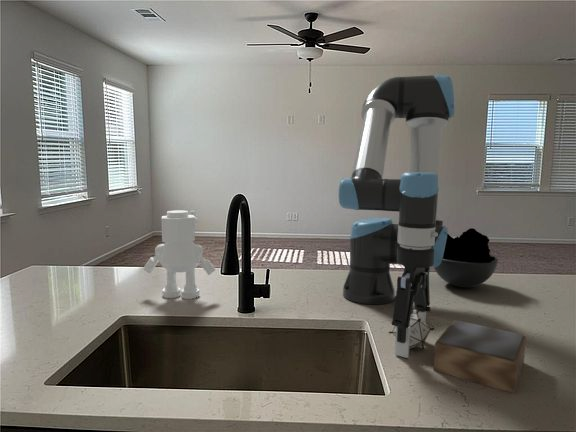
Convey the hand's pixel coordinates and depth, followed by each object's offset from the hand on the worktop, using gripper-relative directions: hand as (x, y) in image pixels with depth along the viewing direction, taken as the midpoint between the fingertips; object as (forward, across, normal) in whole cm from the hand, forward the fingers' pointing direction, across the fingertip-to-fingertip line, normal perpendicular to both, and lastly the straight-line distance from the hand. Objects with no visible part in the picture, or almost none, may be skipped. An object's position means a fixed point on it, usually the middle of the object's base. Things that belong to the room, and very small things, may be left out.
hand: (410, 346), depth 92 cm
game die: (0, 0, 0) cm, 0 cm away
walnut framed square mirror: (0, 0, -14) cm, 14 cm away
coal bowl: (0, +55, +2) cm, 55 cm away
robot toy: (0, -6, +67) cm, 67 cm away
